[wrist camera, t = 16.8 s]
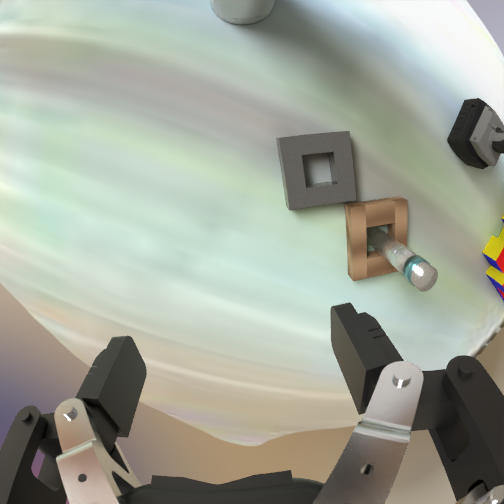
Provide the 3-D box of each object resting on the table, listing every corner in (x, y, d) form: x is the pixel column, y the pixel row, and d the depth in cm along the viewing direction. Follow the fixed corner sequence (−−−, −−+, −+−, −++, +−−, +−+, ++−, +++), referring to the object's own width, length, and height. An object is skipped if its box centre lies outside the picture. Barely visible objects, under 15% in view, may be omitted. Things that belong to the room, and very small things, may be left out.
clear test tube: (364, 227, 43) (417, 269, 28) (382, 224, 43) (439, 263, 28) (364, 247, 45) (414, 294, 30) (382, 244, 44) (436, 288, 30)
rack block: (344, 204, 42) (350, 207, 39) (399, 196, 42) (407, 199, 39) (348, 274, 46) (353, 281, 44) (398, 263, 46) (405, 269, 44)
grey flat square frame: (276, 138, 38) (278, 138, 36) (343, 131, 38) (349, 131, 35) (286, 206, 42) (289, 210, 39) (350, 196, 41) (356, 200, 39)
